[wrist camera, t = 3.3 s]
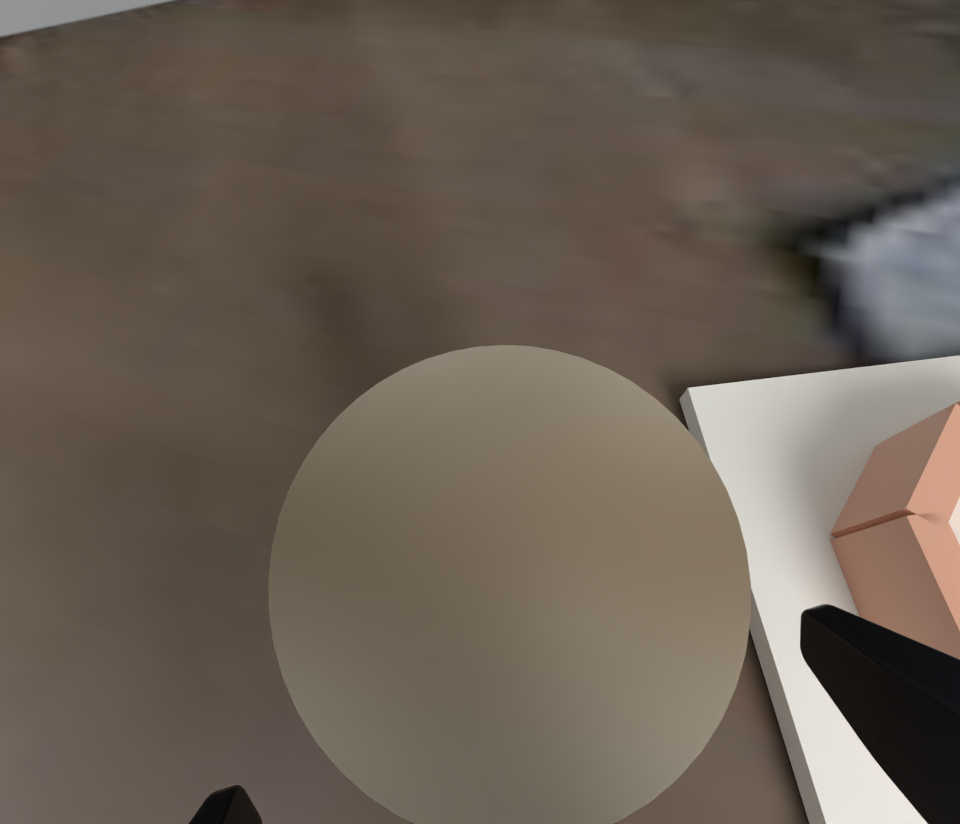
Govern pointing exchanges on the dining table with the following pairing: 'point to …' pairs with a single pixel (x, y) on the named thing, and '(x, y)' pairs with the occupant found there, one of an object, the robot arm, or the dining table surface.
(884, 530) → the octagonal ring base
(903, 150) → the dining table surface
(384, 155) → the dining table surface
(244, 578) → the dining table surface
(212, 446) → the dining table surface
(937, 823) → the robot arm
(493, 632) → the beech peg
